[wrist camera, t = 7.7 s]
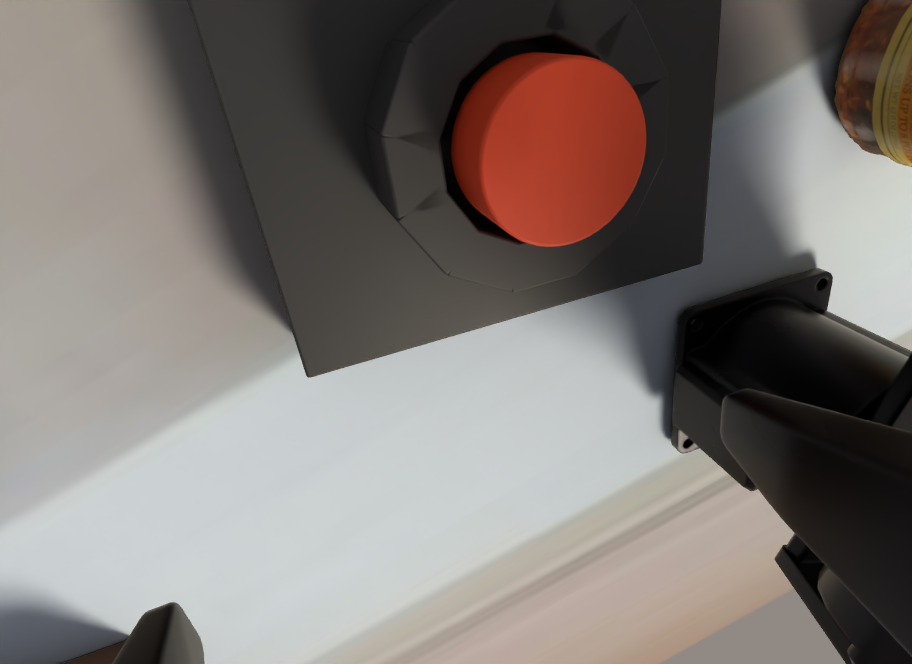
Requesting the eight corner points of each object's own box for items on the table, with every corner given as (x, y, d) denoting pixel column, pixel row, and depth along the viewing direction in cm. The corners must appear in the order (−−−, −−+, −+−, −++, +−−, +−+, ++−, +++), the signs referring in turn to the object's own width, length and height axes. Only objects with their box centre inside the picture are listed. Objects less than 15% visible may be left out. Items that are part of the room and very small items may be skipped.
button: (600, 38, 12) (650, 40, 11) (603, 204, 14) (646, 225, 13) (438, 68, 12) (467, 74, 10) (461, 240, 13) (490, 267, 12)
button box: (671, -134, 15) (801, -182, 11) (659, 241, 20) (747, 286, 16) (169, -74, 12) (145, -112, 9) (299, 341, 17) (316, 418, 14)
